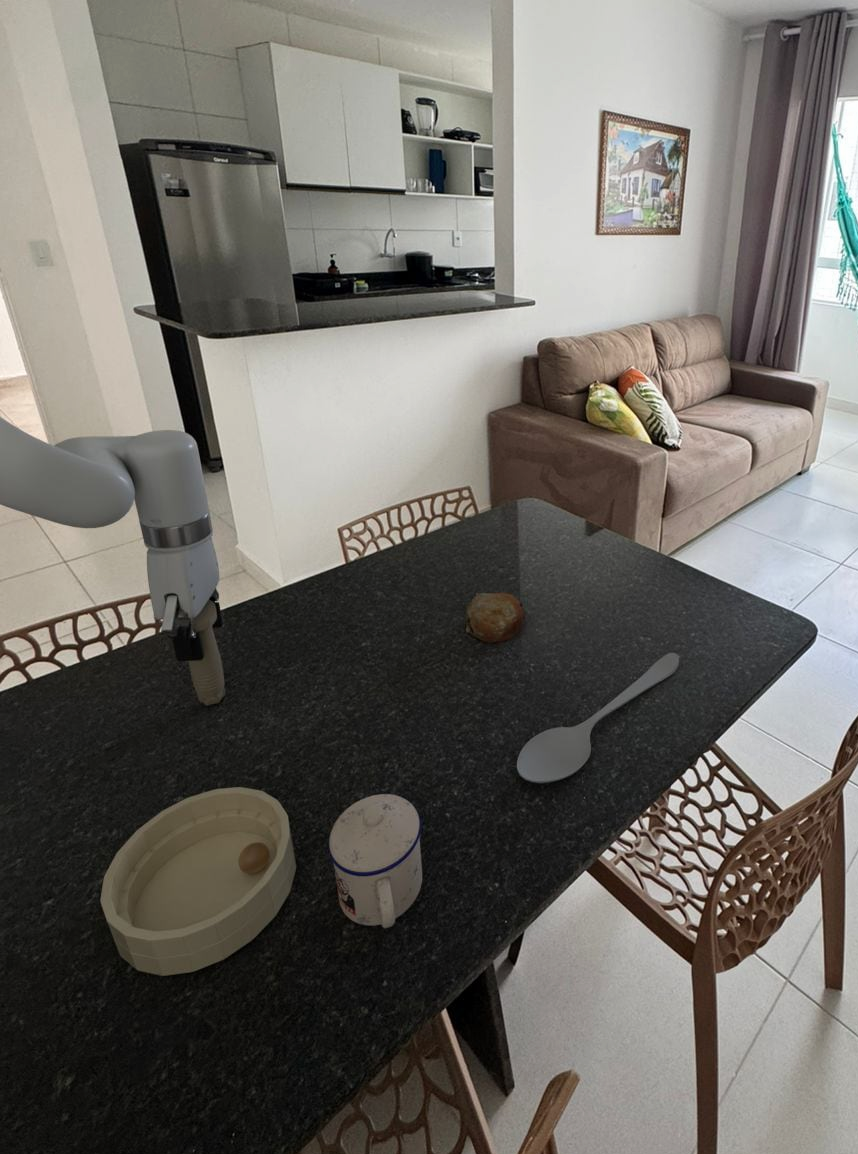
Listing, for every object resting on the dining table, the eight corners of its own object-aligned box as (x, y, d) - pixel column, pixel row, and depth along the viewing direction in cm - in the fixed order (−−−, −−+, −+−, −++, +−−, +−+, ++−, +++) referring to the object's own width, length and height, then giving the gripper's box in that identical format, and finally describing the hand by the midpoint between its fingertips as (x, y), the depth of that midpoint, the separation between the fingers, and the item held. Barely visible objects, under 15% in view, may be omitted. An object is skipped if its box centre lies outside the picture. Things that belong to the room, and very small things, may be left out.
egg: (237, 881, 71) (232, 863, 70) (245, 856, 74) (241, 837, 72) (267, 878, 71) (262, 859, 70) (274, 853, 74) (270, 834, 73)
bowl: (81, 991, 61) (64, 951, 59) (159, 832, 76) (147, 794, 74) (272, 965, 64) (263, 926, 62) (311, 817, 79) (305, 780, 77)
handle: (193, 718, 91) (173, 629, 85) (192, 689, 96) (174, 603, 90) (232, 708, 94) (216, 620, 88) (230, 680, 99) (214, 595, 93)
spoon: (543, 808, 82) (544, 793, 81) (499, 772, 86) (500, 757, 85) (693, 678, 107) (696, 665, 106) (654, 655, 112) (656, 642, 111)
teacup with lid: (333, 865, 74) (321, 790, 69) (416, 837, 77) (410, 765, 73) (343, 973, 64) (330, 895, 59) (438, 936, 68) (433, 859, 63)
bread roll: (464, 634, 118) (446, 607, 113) (508, 596, 122) (492, 568, 117) (495, 664, 111) (477, 636, 106) (540, 622, 115) (524, 594, 110)
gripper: (173, 498, 91) (195, 607, 98) (110, 563, 75) (142, 687, 83) (232, 498, 92) (250, 605, 99) (182, 562, 77) (207, 684, 84)
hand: (200, 641), depth 91 cm, fingers closed on handle, 6 cm apart
